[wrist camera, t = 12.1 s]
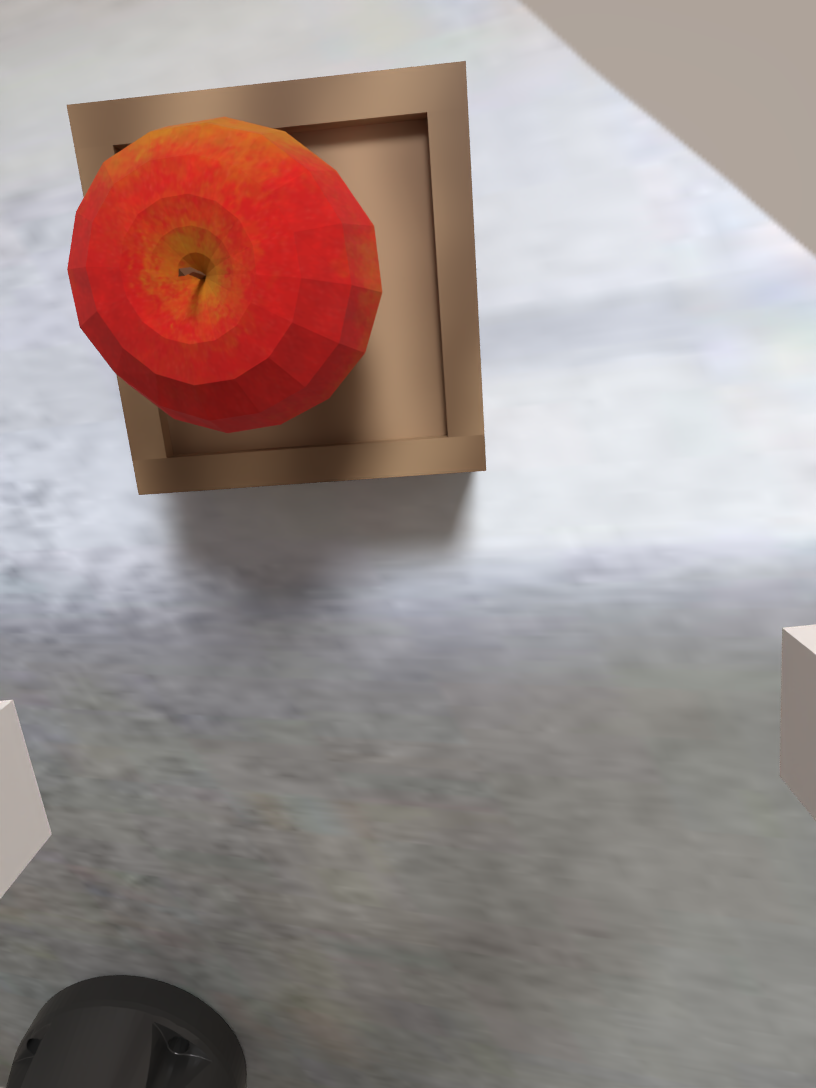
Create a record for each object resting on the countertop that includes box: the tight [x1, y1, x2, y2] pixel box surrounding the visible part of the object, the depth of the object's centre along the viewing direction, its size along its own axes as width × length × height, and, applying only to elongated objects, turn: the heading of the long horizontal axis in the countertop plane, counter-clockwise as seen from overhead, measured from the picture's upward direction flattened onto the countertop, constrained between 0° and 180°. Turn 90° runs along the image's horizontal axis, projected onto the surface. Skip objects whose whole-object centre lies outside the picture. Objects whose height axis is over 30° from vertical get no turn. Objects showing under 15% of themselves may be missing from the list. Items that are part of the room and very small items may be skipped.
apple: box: [67, 117, 382, 433], centre depth 23 cm, size 9×9×12 cm
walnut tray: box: [67, 61, 486, 495], centre depth 31 cm, size 15×15×7 cm
